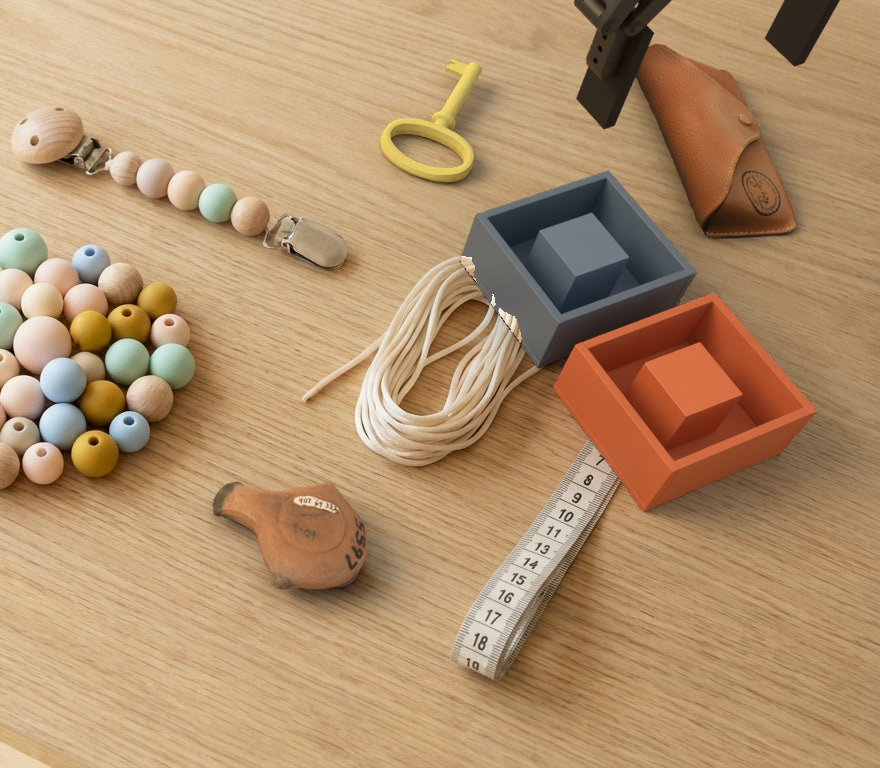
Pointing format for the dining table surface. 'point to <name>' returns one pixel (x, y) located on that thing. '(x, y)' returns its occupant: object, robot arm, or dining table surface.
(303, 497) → the oil lamp
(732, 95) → the sunglasses case
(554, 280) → the slate block
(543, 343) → the slate bin
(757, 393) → the terracotta bin
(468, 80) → the key
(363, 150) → the dining table surface
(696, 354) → the terracotta block
